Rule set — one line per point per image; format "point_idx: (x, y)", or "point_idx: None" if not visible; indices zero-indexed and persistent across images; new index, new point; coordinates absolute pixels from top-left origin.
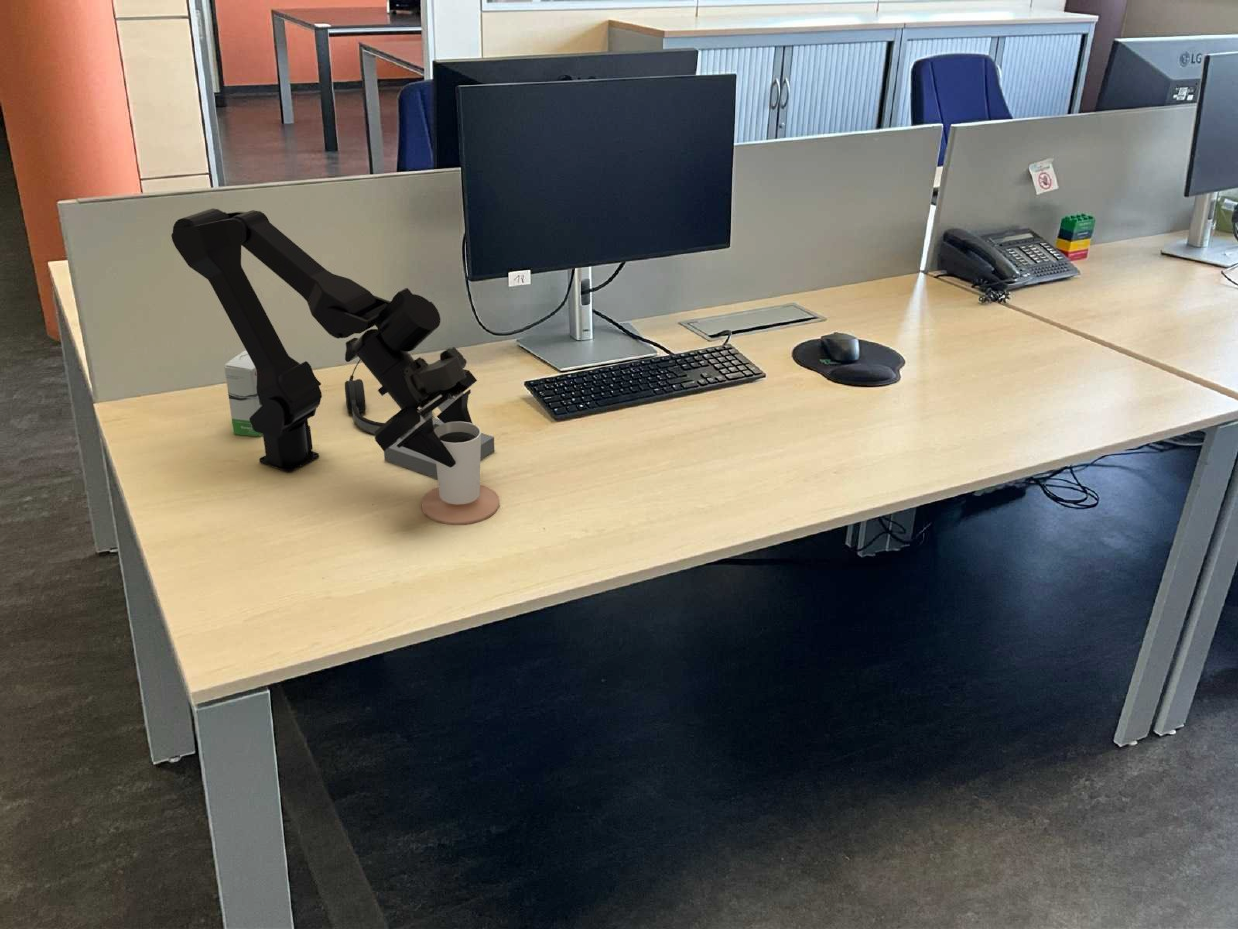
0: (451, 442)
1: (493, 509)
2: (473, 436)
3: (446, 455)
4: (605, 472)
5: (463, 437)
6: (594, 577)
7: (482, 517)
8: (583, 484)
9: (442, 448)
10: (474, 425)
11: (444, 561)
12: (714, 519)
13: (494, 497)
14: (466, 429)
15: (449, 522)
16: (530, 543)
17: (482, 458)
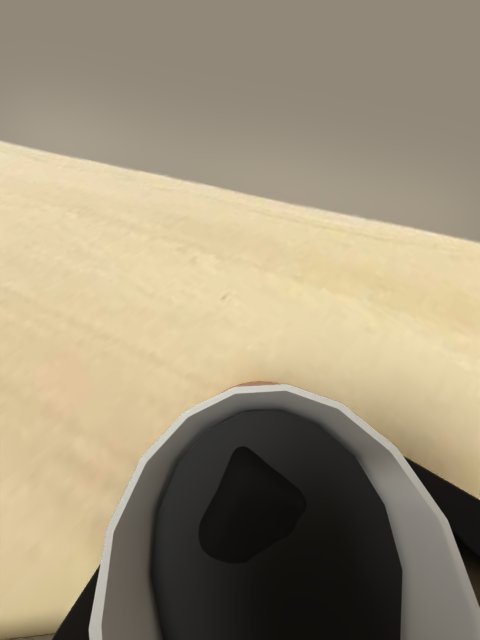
0: (306, 561)
1: (240, 385)
2: (170, 503)
3: (405, 457)
4: (23, 340)
5: (243, 513)
6: (267, 203)
7: (273, 383)
8: (75, 340)
9: (448, 491)
10: (113, 543)
11: (405, 337)
12: (95, 196)
13: None
14: (136, 611)
15: None
16: (267, 285)
17: (40, 636)
